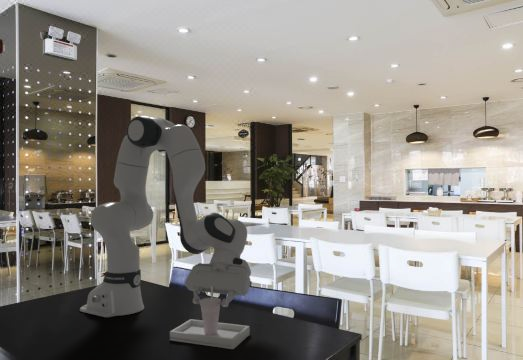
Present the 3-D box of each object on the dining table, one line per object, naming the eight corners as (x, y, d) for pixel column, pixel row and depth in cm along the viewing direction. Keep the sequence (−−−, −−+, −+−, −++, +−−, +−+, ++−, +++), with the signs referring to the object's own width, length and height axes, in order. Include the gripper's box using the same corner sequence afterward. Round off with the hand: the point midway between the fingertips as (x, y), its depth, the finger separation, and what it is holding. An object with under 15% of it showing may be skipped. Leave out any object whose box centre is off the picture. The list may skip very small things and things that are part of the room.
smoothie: (217, 337, 119) (217, 288, 120) (196, 336, 121) (195, 287, 121) (224, 330, 126) (223, 283, 126) (204, 329, 127) (203, 282, 127)
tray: (169, 340, 120) (169, 331, 120) (190, 327, 132) (190, 319, 132) (233, 349, 114) (233, 339, 114) (249, 334, 125) (249, 326, 125)
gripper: (191, 257, 133) (174, 295, 124) (250, 261, 126) (238, 301, 117) (198, 268, 137) (182, 306, 128) (256, 273, 130) (244, 313, 121)
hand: (209, 304), depth 122 cm, fingers open, 8 cm apart
